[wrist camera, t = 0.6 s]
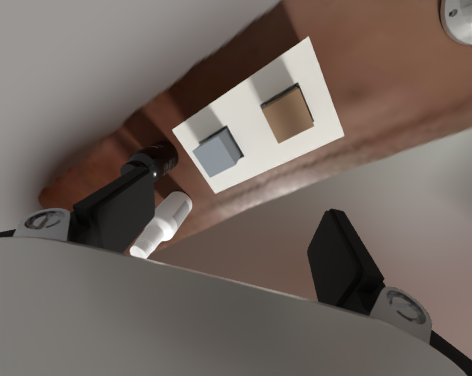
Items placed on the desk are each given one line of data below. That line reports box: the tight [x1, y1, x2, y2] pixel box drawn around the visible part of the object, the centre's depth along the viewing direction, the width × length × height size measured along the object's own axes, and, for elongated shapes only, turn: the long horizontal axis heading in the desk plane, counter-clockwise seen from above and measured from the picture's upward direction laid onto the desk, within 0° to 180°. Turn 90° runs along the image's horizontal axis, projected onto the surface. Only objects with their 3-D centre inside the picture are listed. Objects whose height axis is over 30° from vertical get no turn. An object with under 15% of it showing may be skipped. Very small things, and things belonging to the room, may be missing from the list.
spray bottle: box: [130, 191, 192, 259], centre depth 44 cm, size 7×7×18 cm
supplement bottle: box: [120, 141, 178, 183], centre depth 40 cm, size 7×7×12 cm
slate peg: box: [192, 127, 242, 178], centre depth 32 cm, size 5×5×6 cm
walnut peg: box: [262, 87, 314, 144], centre depth 28 cm, size 5×5×6 cm
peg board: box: [172, 37, 344, 194], centre depth 35 cm, size 24×14×8 cm, turn 122°
